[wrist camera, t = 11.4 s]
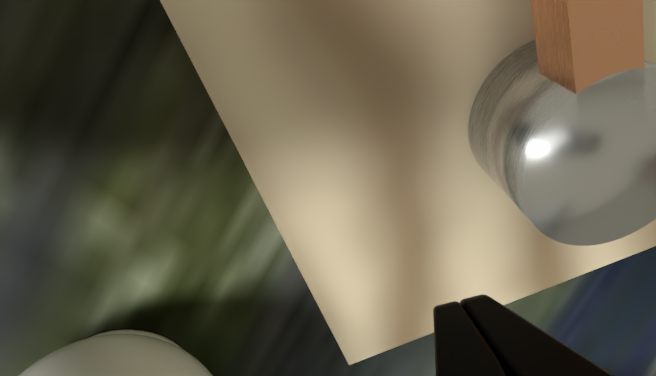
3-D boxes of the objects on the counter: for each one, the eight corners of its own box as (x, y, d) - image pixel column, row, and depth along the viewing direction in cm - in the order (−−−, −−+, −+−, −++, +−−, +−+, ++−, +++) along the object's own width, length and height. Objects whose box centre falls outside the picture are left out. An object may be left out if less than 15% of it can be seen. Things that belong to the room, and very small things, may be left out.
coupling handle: (624, 153, 21) (706, 206, 17) (483, 207, 21) (535, 270, 18) (598, -332, 13) (734, -419, 10) (381, -242, 14) (434, -294, 10)
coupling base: (343, 342, 26) (350, 368, 25) (154, -29, 17) (147, -23, 15) (765, 176, 25) (798, 193, 24) (811, -312, 16) (870, -333, 14)
